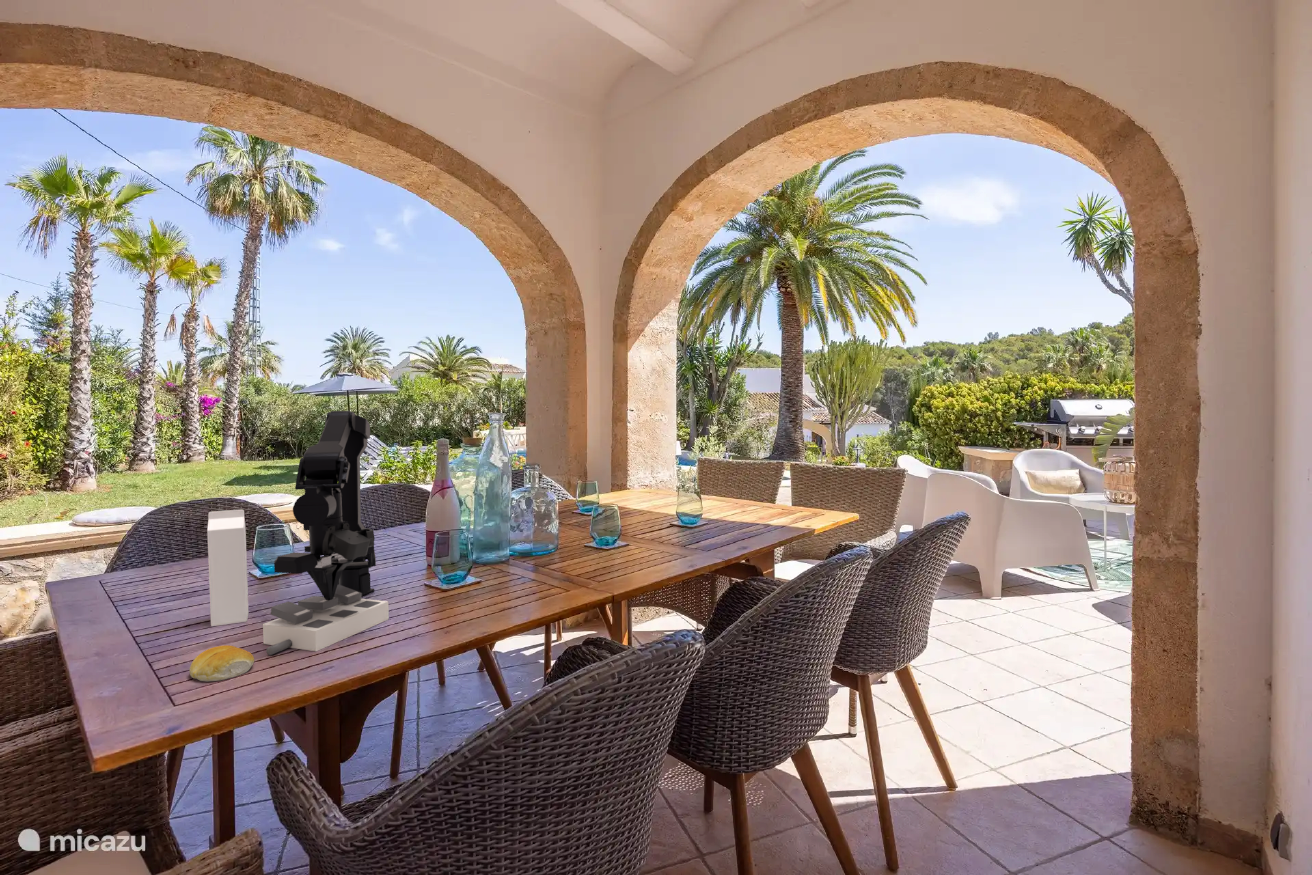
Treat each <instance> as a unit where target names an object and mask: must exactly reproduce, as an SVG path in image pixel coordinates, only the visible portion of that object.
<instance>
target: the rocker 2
mask: <svg viewBox="0 0 1312 875" xmlns="http://www.w3.org/2000/svg"><path fill="white" fill-rule="evenodd" d="M362 596H363V595H362V593H360V592H358V591H355V590H352V589H349V588H347V587H344V586H341V585H337V588H336V592H335V595H334V597H338V602H341V603H344V604H346V605H348V604H351V603H354V602H356V601H359V600H361V598H362Z"/></svg>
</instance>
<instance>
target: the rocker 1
mask: <svg viewBox="0 0 1312 875" xmlns="http://www.w3.org/2000/svg"><path fill="white" fill-rule="evenodd" d="M270 615H271V616H274V617H276V618H277V619H278V618H281V619H283V620H286V621H288V622H291V623H293V624H299V623H301V622H304V621H306V620H309V619H312V617H313V611H312V610H309V609H307V608H304V607H302V606H299V605H298V604H296V603H294V602H291V601H286V602H282V603H279V604H277V605H274V606H271V609H270Z"/></svg>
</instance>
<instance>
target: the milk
mask: <svg viewBox="0 0 1312 875" xmlns="http://www.w3.org/2000/svg"><path fill="white" fill-rule="evenodd" d="M207 515H208V516H207V517H208V518H207V520H208V521H207V530H206V531H207V533H206V534H207V554H208V555H207V558H208V578H209V579H208V581H209V582H208V583H209V584H208V585H209V586H208V588H209V606H210V607H209V608H210V609H209V611H210V612H209V613H210V626H211V627H218V626H226V625H233V624H240V623H246V622H248V617H249V594H248V593H249V591H248V590H249V589H248V562H247V561H248V558H247V535H246V534H247V533H246V532H247V530H246V520H245V510H244V509H231V510H230V509H227V510H218V511H217V510H215V511H209V512H208V514H207Z"/></svg>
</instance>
